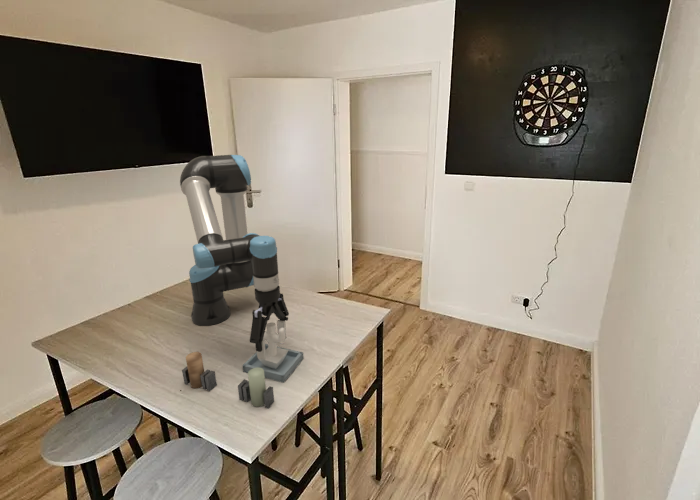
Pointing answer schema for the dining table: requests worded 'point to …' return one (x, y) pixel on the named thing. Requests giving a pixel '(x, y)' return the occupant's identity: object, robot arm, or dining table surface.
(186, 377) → the clip posts
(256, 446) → the dining table surface
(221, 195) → the robot arm
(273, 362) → the figurine
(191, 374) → the brown rounded cylinder
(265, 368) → the tray
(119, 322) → the dining table surface
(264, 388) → the green dowel
